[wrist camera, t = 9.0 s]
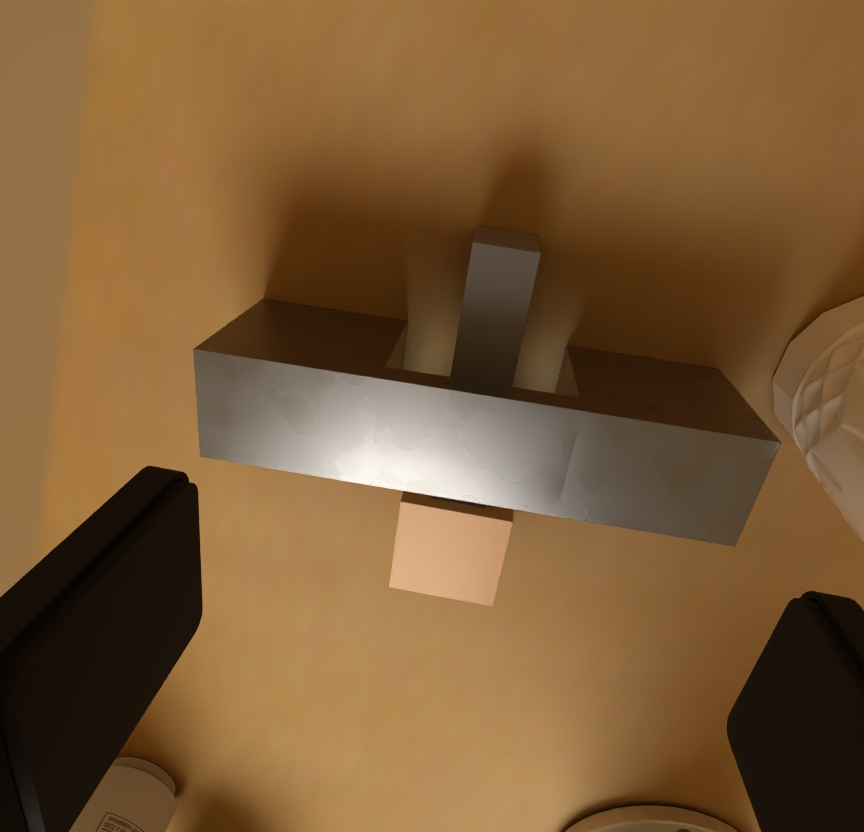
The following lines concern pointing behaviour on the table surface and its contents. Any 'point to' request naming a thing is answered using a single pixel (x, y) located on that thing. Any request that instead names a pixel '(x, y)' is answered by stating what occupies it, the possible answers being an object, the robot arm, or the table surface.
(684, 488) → the grey long block
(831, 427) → the white cup
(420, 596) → the table surface
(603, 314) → the table surface
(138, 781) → the energy drink can
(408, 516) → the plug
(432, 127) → the table surface
